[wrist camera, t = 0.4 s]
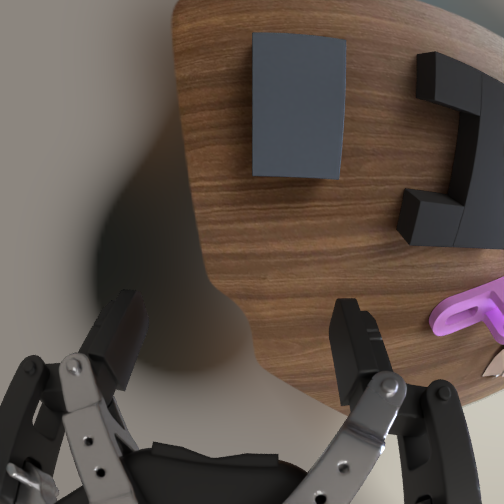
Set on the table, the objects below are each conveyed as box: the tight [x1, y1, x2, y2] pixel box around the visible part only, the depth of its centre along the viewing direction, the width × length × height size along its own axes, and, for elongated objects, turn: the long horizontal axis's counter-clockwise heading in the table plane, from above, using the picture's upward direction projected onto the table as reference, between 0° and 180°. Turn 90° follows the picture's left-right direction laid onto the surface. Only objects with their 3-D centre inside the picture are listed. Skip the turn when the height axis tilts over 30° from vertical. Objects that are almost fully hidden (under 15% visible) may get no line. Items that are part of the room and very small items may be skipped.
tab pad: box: [252, 33, 346, 180], centre depth 17 cm, size 6×10×3 cm, turn 0°
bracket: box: [429, 276, 504, 345], centre depth 25 cm, size 13×6×7 cm, turn 106°
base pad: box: [397, 51, 504, 249], centre depth 18 cm, size 16×14×3 cm
